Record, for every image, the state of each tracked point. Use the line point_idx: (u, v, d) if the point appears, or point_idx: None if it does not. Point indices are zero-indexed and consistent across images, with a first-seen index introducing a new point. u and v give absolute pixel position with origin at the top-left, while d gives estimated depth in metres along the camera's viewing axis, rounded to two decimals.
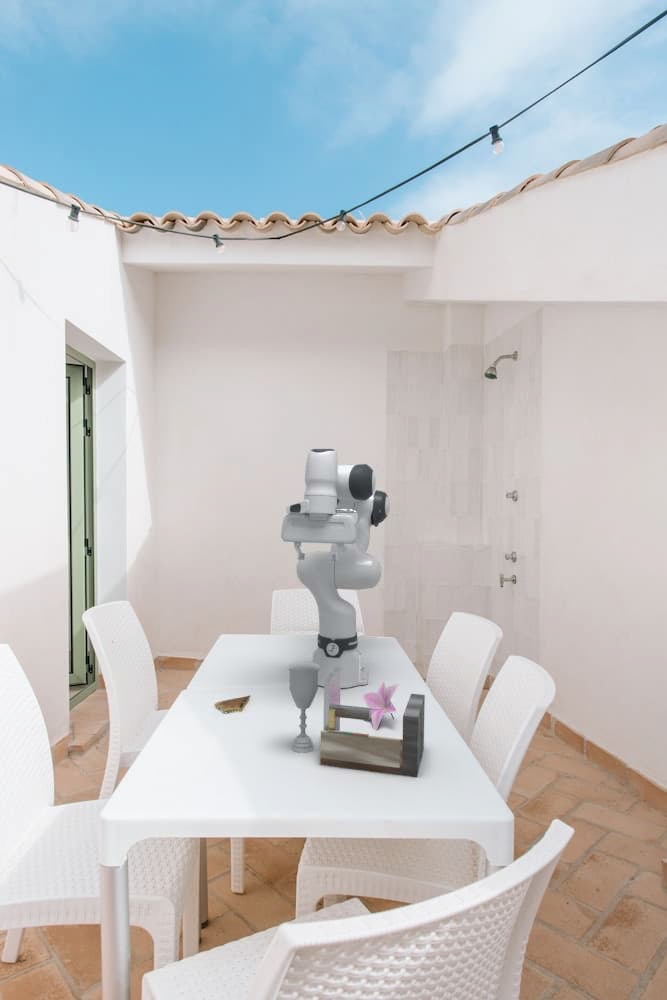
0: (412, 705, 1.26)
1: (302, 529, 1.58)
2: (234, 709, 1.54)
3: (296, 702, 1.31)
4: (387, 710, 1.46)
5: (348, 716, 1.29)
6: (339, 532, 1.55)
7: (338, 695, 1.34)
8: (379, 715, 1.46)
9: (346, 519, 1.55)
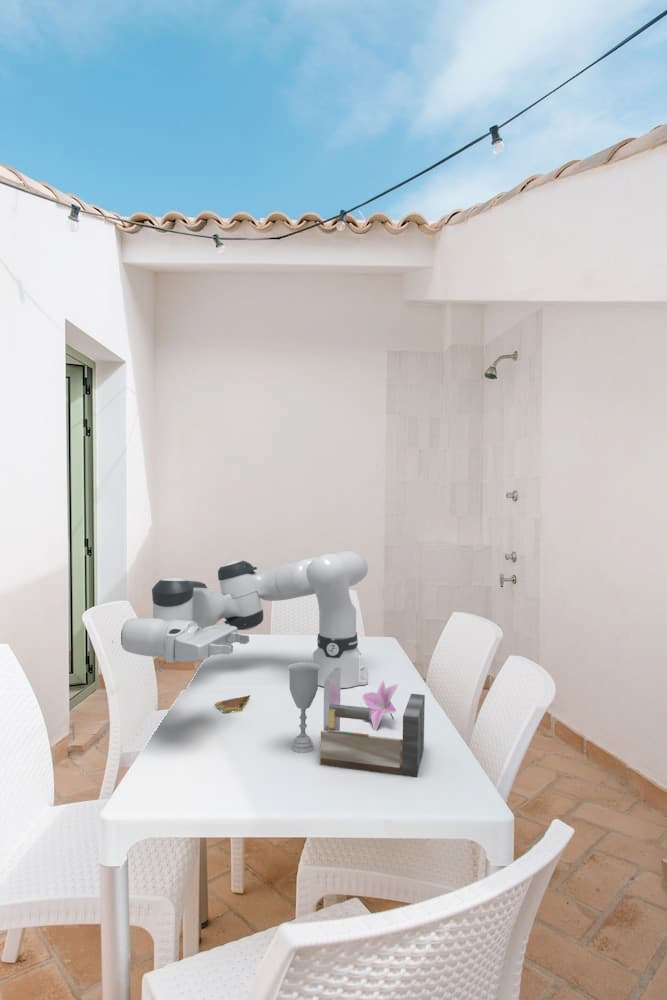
0: (412, 705, 1.26)
1: (199, 638, 1.34)
2: (234, 709, 1.54)
3: (296, 702, 1.31)
4: (387, 710, 1.46)
5: (348, 716, 1.29)
6: (221, 628, 1.44)
7: (338, 695, 1.34)
8: (379, 715, 1.46)
9: (211, 626, 1.47)
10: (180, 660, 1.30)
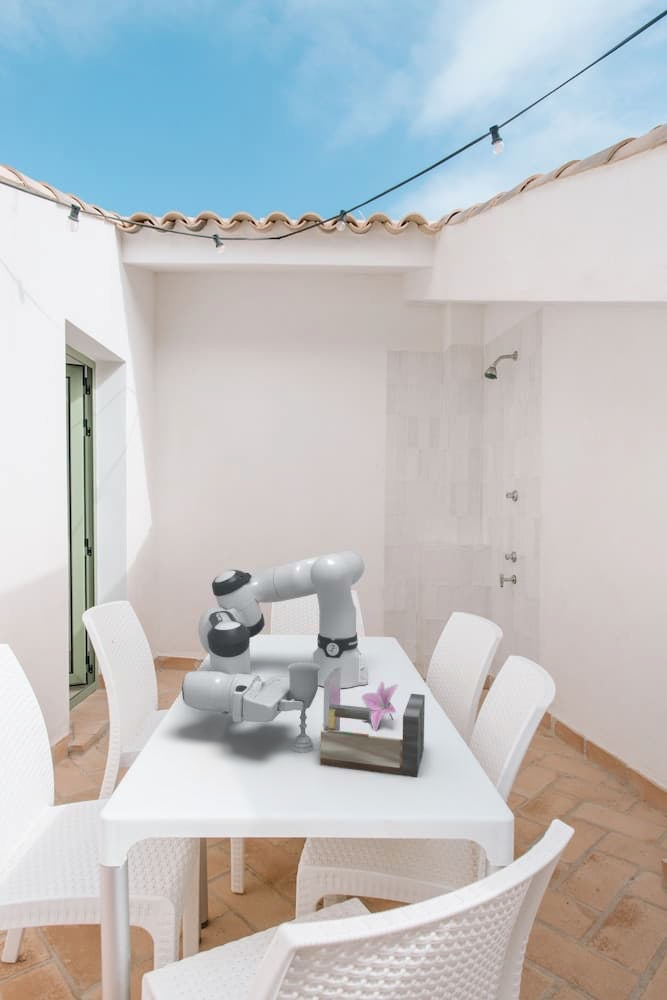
0: (412, 705, 1.26)
1: (266, 695, 1.30)
2: None
3: None
4: (386, 711, 1.45)
5: (348, 716, 1.29)
6: (283, 681, 1.40)
7: (338, 695, 1.34)
8: (378, 716, 1.46)
9: (273, 678, 1.43)
10: (249, 720, 1.26)
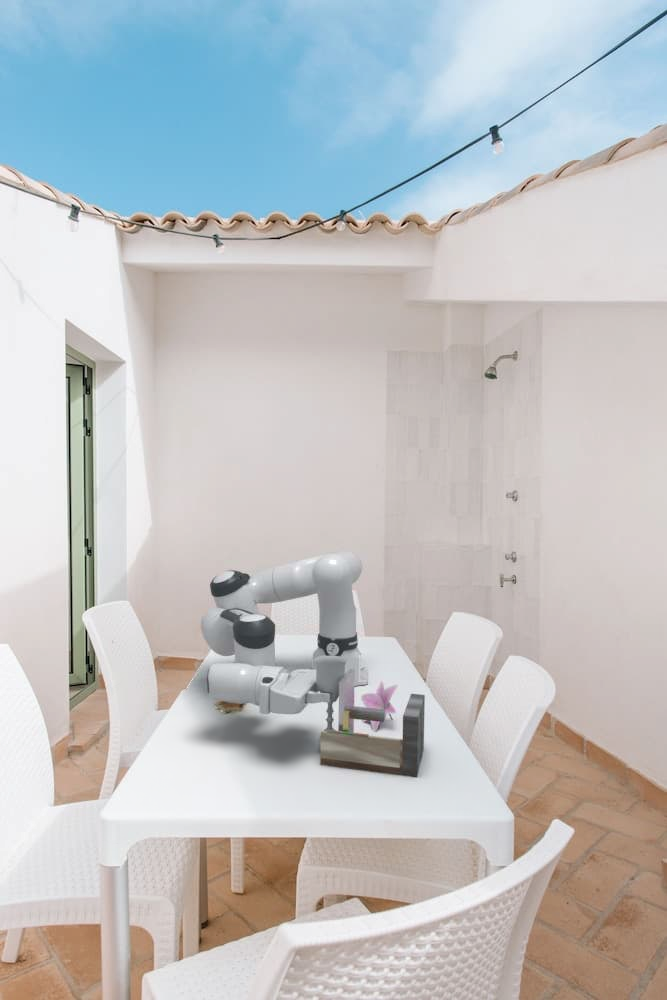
0: (412, 705, 1.26)
1: (293, 687, 1.29)
2: (234, 709, 1.54)
3: None
4: (386, 711, 1.45)
5: (363, 718, 1.29)
6: (309, 673, 1.39)
7: (352, 696, 1.33)
8: None
9: (298, 670, 1.41)
10: (276, 712, 1.24)
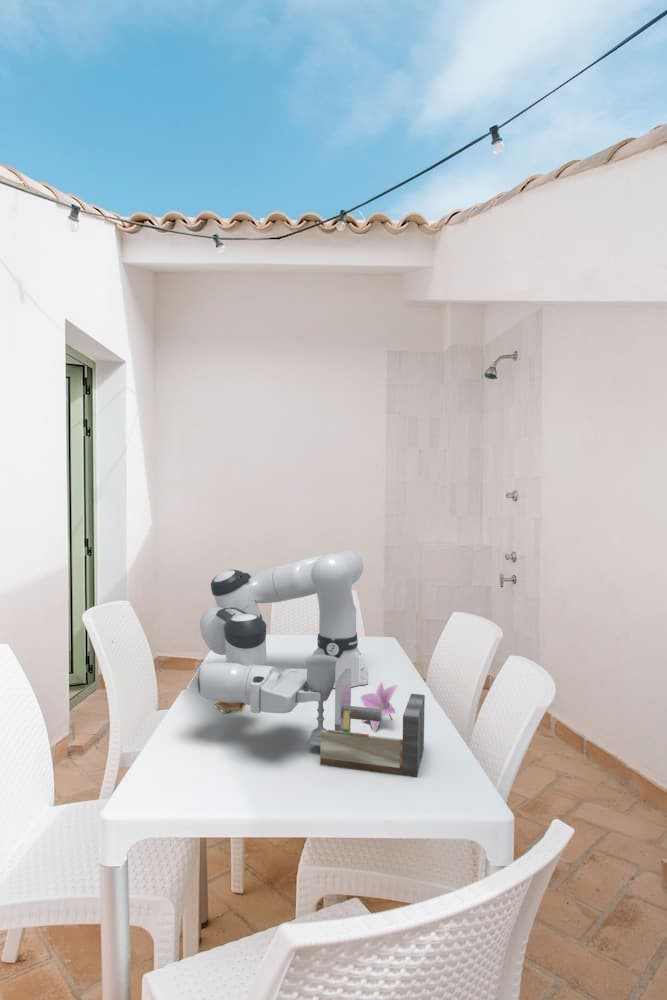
0: (412, 705, 1.26)
1: (284, 686, 1.29)
2: (234, 709, 1.54)
3: None
4: (386, 711, 1.45)
5: (359, 717, 1.29)
6: (300, 673, 1.39)
7: (349, 696, 1.34)
8: None
9: (289, 669, 1.42)
10: (267, 711, 1.25)
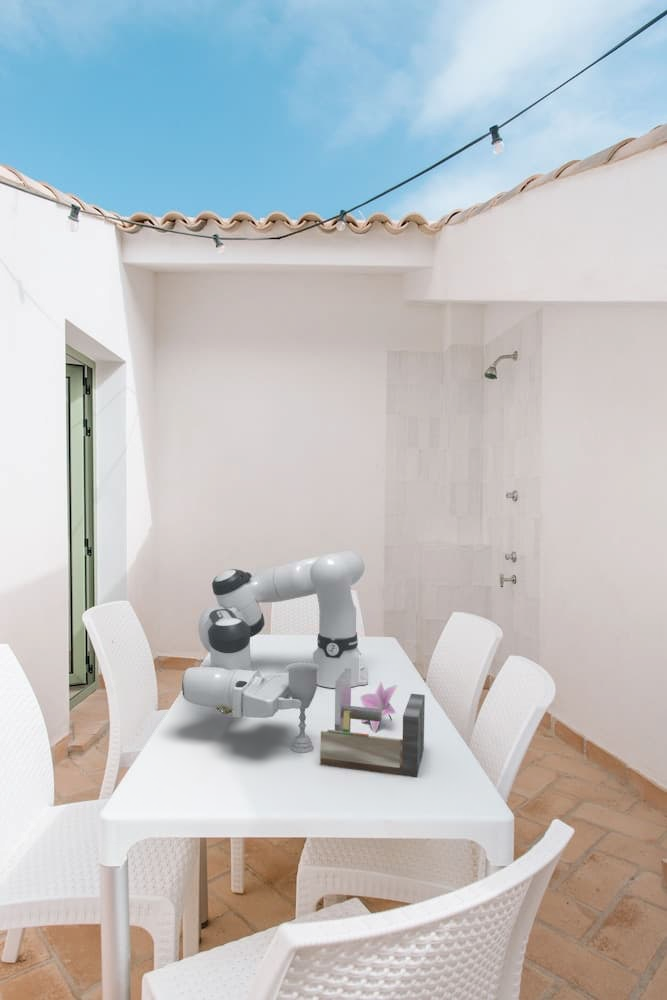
0: (412, 705, 1.26)
1: (266, 691, 1.30)
2: None
3: None
4: (386, 712, 1.45)
5: (359, 717, 1.29)
6: (283, 677, 1.40)
7: (349, 696, 1.34)
8: None
9: (273, 674, 1.43)
10: (249, 715, 1.26)
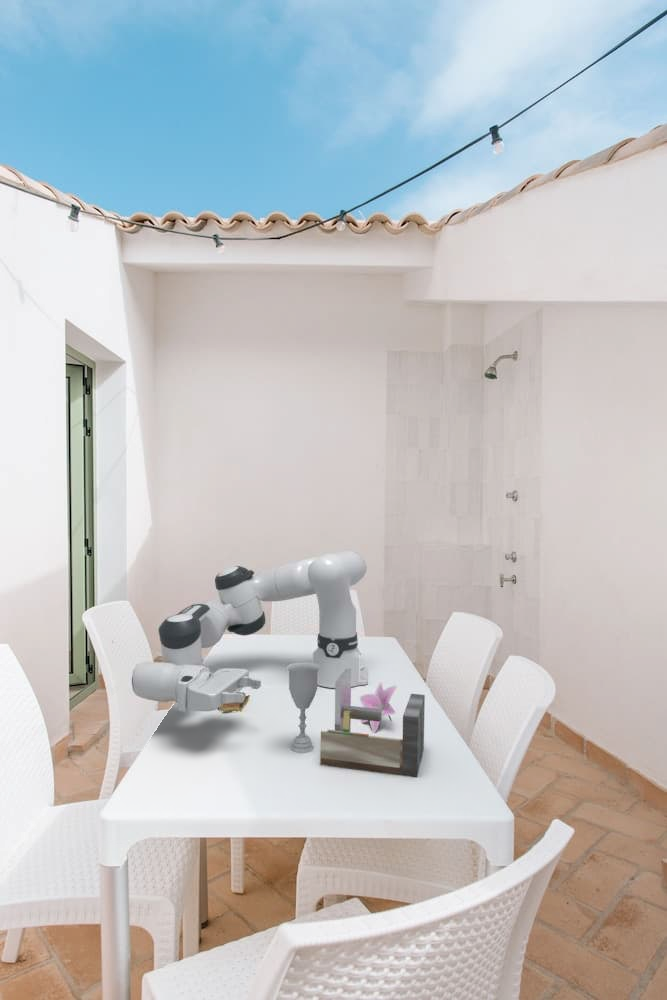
0: (412, 705, 1.26)
1: (211, 685, 1.34)
2: (234, 709, 1.54)
3: (295, 702, 1.31)
4: (385, 712, 1.44)
5: (359, 717, 1.29)
6: (232, 672, 1.43)
7: (349, 696, 1.34)
8: None
9: (222, 669, 1.46)
10: (193, 709, 1.29)
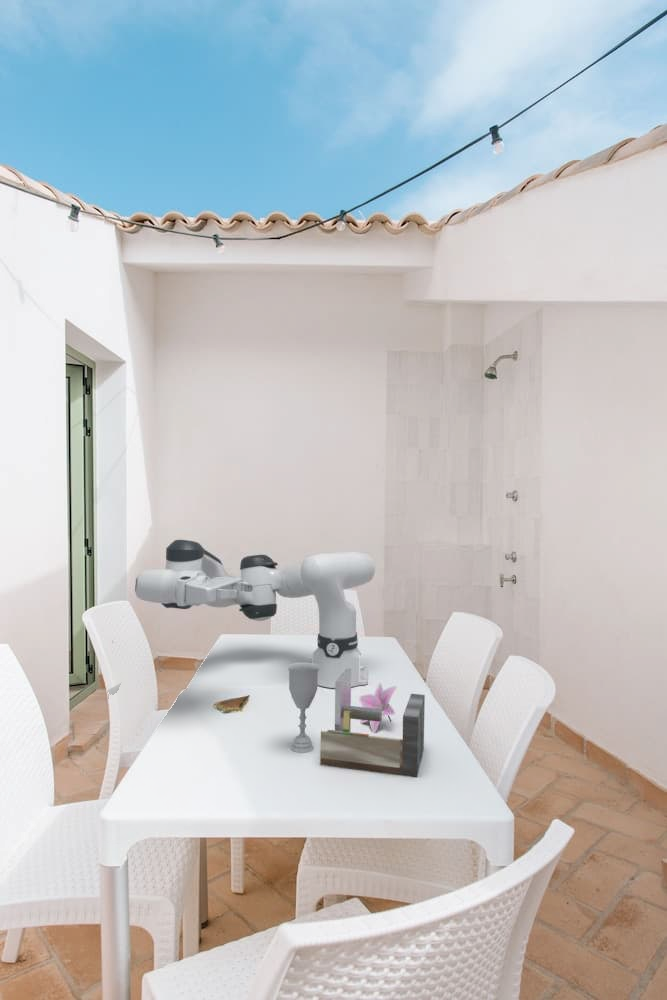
0: (412, 705, 1.26)
1: (208, 584, 1.47)
2: (234, 709, 1.54)
3: (296, 702, 1.31)
4: (385, 713, 1.44)
5: (359, 717, 1.29)
6: (227, 579, 1.56)
7: (349, 696, 1.34)
8: None
9: (218, 577, 1.59)
10: (190, 602, 1.42)
